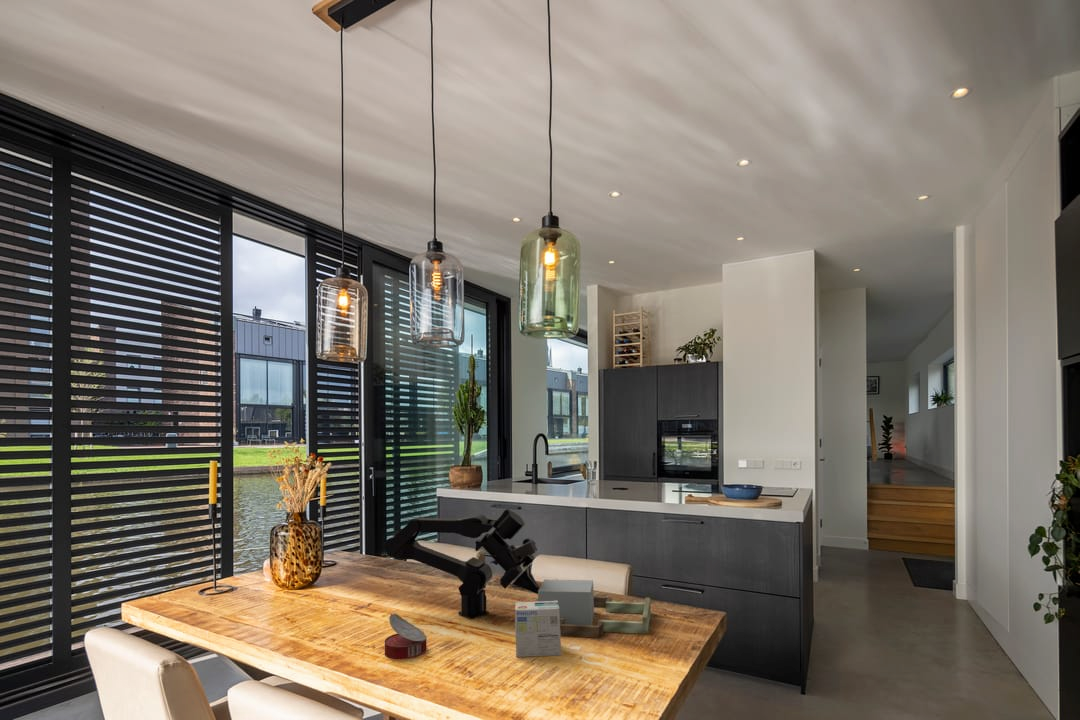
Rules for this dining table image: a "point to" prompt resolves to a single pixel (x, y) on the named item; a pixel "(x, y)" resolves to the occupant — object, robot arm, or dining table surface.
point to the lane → (611, 624)
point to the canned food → (404, 640)
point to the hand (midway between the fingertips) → (539, 592)
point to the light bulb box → (537, 629)
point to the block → (570, 599)
